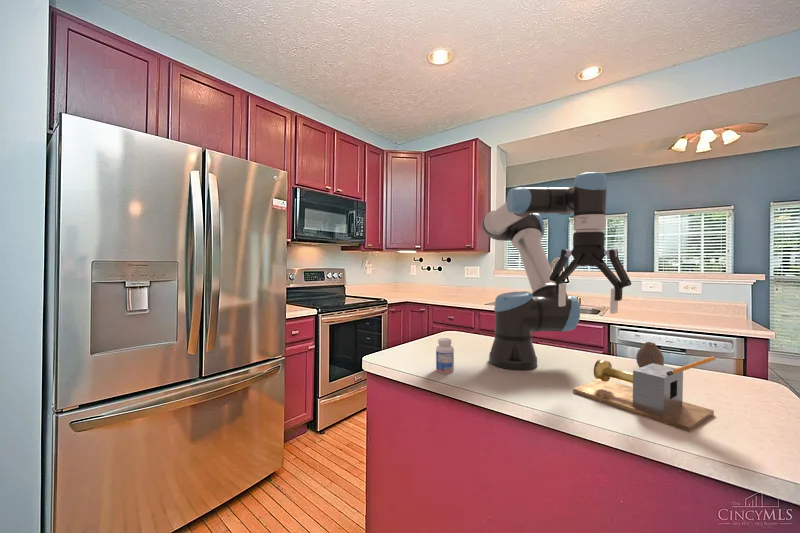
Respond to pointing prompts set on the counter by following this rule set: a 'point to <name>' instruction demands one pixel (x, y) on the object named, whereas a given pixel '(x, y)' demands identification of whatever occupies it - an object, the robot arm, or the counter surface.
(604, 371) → the lynch pin
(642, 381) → the hitch block
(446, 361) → the pill bottle
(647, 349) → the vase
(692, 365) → the orange rod
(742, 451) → the counter surface
